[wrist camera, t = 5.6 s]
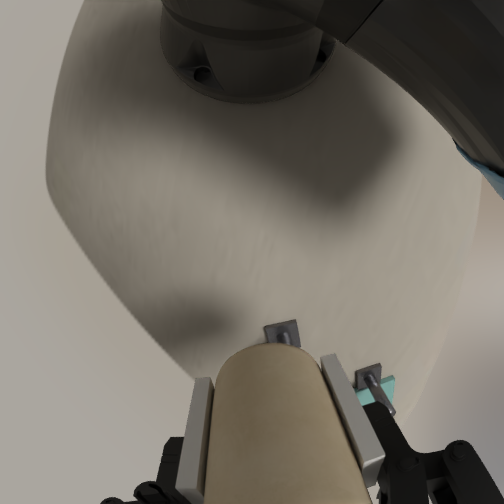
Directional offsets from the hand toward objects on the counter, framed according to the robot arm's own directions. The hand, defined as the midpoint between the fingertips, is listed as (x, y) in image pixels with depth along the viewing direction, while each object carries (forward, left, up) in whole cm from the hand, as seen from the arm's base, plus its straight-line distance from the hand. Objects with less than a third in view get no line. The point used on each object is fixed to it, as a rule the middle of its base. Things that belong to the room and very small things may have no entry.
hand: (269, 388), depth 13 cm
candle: (0, 0, -1) cm, 1 cm away
